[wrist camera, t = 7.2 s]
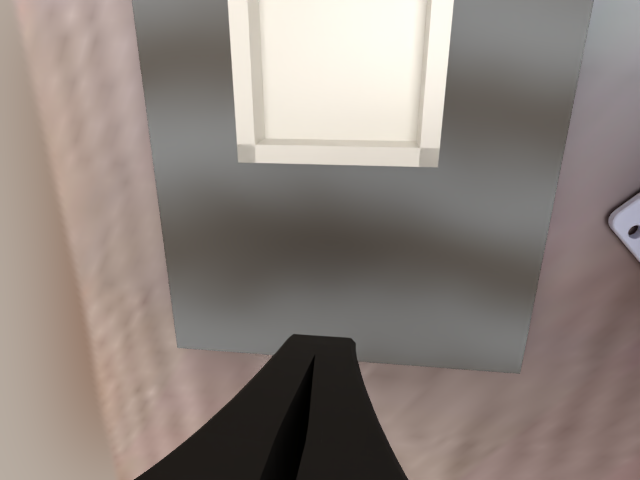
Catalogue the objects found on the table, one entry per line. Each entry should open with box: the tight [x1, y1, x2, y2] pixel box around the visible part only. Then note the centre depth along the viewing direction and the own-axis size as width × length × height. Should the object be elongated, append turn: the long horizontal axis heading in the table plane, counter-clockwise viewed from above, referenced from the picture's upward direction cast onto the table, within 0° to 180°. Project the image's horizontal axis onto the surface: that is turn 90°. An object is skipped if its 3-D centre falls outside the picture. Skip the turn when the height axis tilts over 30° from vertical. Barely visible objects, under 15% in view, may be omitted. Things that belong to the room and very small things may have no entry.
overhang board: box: [132, 0, 594, 374], centre depth 14 cm, size 23×15×5 cm, turn 0°
